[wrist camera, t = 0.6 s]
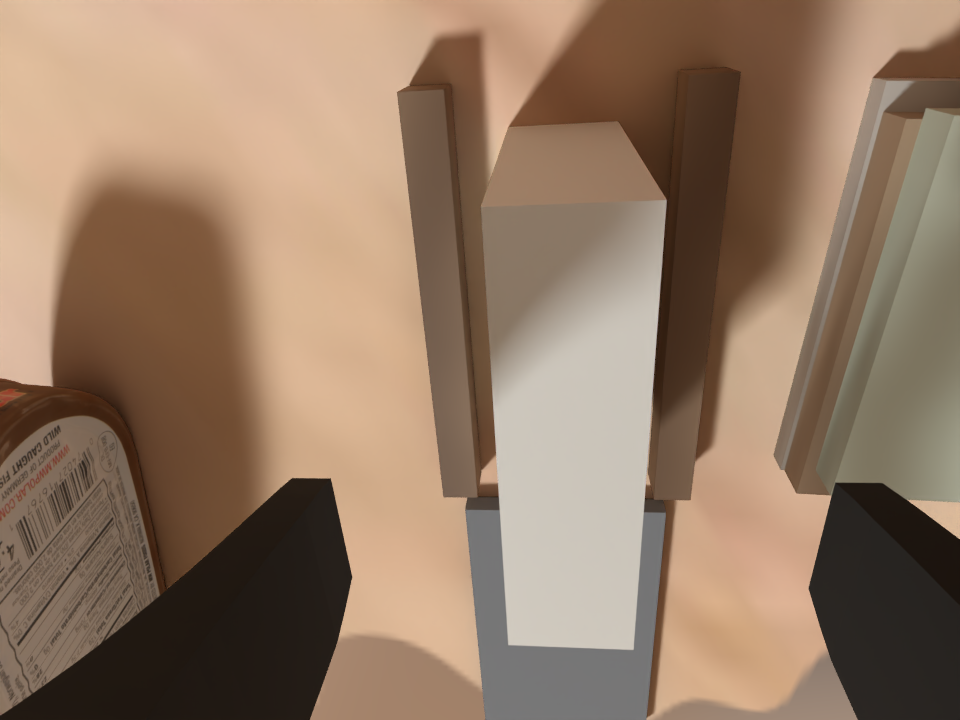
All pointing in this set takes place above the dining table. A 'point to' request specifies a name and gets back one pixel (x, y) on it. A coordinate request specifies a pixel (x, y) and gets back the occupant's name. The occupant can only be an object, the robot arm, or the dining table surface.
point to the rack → (684, 288)
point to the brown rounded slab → (67, 533)
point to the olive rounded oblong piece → (887, 310)
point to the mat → (559, 670)
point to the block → (572, 375)
